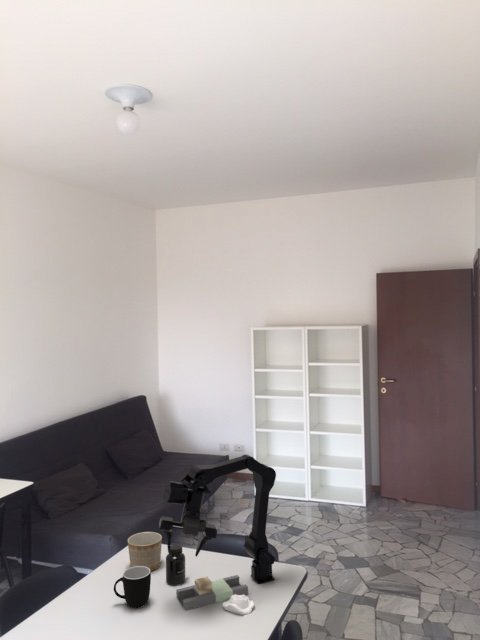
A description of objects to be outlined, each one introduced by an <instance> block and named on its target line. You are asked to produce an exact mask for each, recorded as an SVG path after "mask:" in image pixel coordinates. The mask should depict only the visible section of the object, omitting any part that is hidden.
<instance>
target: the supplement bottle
mask: <svg viewBox="0 0 480 640" xmlns="http://www.w3.org/2000/svg"><path fill="white" fill-rule="evenodd" d="M167 552H168V551H167ZM165 578H166V579H165V580H166V583H167V585H170V586H179V585H182V584H183V583H185V582H186V555H185V554H184V553H183V546H182V545H181V544H176V543H175V544H171V546H170V551H169V552H168V553H167V555H166V557H165Z"/></svg>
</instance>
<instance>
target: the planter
mask: <svg viewBox="0 0 480 640" xmlns="http://www.w3.org/2000/svg"><path fill="white" fill-rule="evenodd" d="M162 540H163V536H162V535H161V534H160V533H158V532H154V531H143V532H142V531H141V532H138V533H135V534H132V535H131V536H129V537H128V538H127V548H128V555H129V565H130V568H131V567H135V566H145V567H148V568H149V569H150V571H151V572H152V571H155V570H157V569H158V568H159V567H160V566H161V560H162V559H161V558H162V557H161V556H162Z"/></svg>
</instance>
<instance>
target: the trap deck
mask: <svg viewBox="0 0 480 640" xmlns="http://www.w3.org/2000/svg"><path fill="white" fill-rule="evenodd" d="M211 582H212V592H209V593H205V594H201V595H199V594H198V592H197V591H196V589H195V584H193V585H189V586H185V587H181V588H177V589H176V590H175V593H176V599H177V600H178V602H179V603H180V605H181V606H182V608H183V610H184V611H188V610H191V609H195V608H199V607H204V606H207V605H211V604H215V603H219V602H222V601H228V600H230V597H231V596H232V595H234V594H236V595H243V594H244V595H245V596H247V595H249V587H248V585H247V584H242V585H241V583H240V576H239V575H238V574H235V575H232V576H228V577H222V578H219V579H214V580H211Z"/></svg>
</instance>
